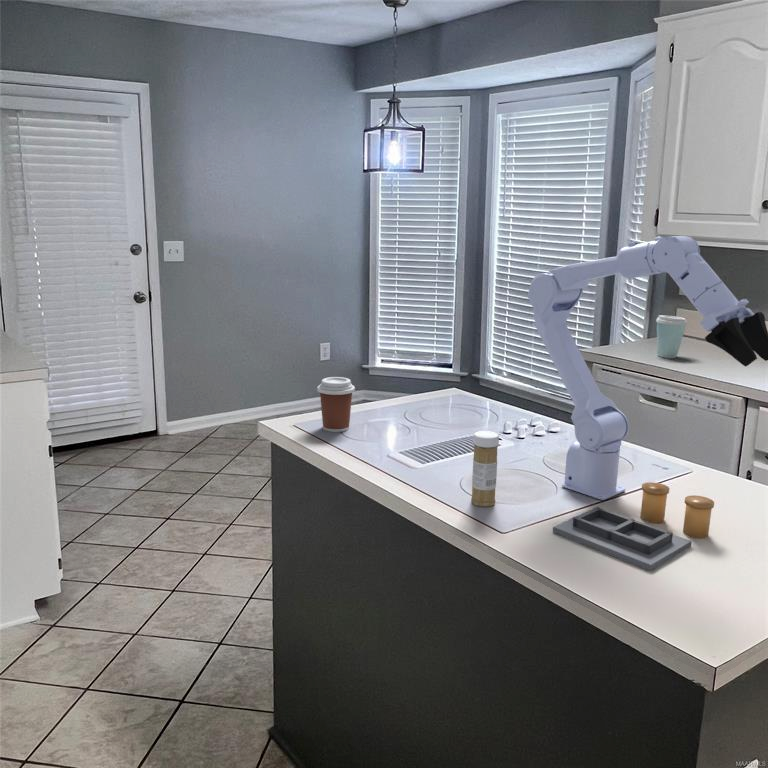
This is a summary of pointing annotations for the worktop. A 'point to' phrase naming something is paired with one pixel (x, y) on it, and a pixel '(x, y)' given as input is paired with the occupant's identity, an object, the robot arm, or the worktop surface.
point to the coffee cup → (336, 403)
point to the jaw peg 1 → (654, 502)
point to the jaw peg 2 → (697, 516)
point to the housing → (623, 537)
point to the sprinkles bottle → (484, 468)
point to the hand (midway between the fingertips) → (761, 359)
